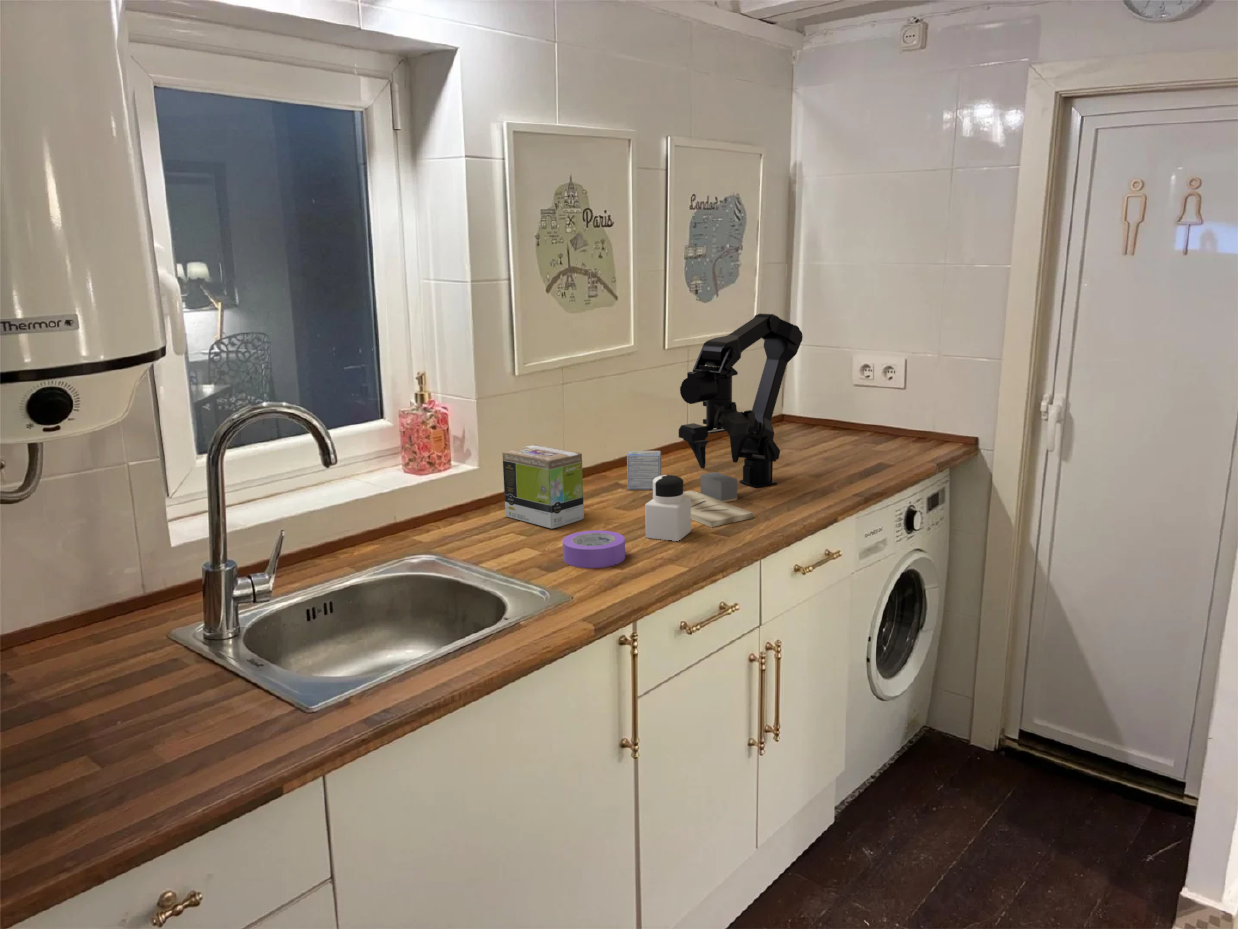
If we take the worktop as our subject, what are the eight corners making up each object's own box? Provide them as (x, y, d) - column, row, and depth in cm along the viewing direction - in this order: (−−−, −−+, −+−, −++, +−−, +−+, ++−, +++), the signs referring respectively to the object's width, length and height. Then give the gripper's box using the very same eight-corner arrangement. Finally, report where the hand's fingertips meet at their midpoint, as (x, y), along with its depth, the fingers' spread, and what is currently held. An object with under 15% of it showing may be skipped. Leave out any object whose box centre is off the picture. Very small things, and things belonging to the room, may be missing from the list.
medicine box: (661, 485, 226) (661, 450, 224) (660, 490, 222) (660, 454, 220) (629, 485, 227) (628, 450, 225) (627, 490, 223) (626, 454, 220)
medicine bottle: (691, 531, 190) (691, 474, 188) (678, 542, 184) (678, 483, 181) (658, 528, 193) (658, 471, 191) (645, 538, 187) (644, 479, 184)
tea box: (585, 519, 200) (583, 451, 197) (551, 530, 193) (548, 460, 190) (538, 507, 210) (535, 442, 207) (503, 517, 203) (500, 450, 200)
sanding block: (716, 492, 219) (716, 471, 218) (737, 500, 212) (737, 479, 211) (700, 495, 217) (700, 474, 216) (721, 503, 210) (721, 481, 209)
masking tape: (554, 554, 180) (553, 534, 179) (610, 545, 184) (610, 526, 183) (576, 573, 169) (575, 552, 168) (635, 563, 174) (635, 543, 173)
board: (691, 495, 217) (691, 490, 217) (753, 518, 199) (753, 512, 198) (651, 503, 211) (651, 498, 211) (711, 527, 193) (711, 521, 193)
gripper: (707, 407, 198) (707, 479, 202) (775, 397, 207) (774, 466, 211) (676, 400, 207) (677, 468, 211) (743, 391, 217) (742, 456, 220)
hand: (719, 465), depth 213 cm, fingers open, 9 cm apart
